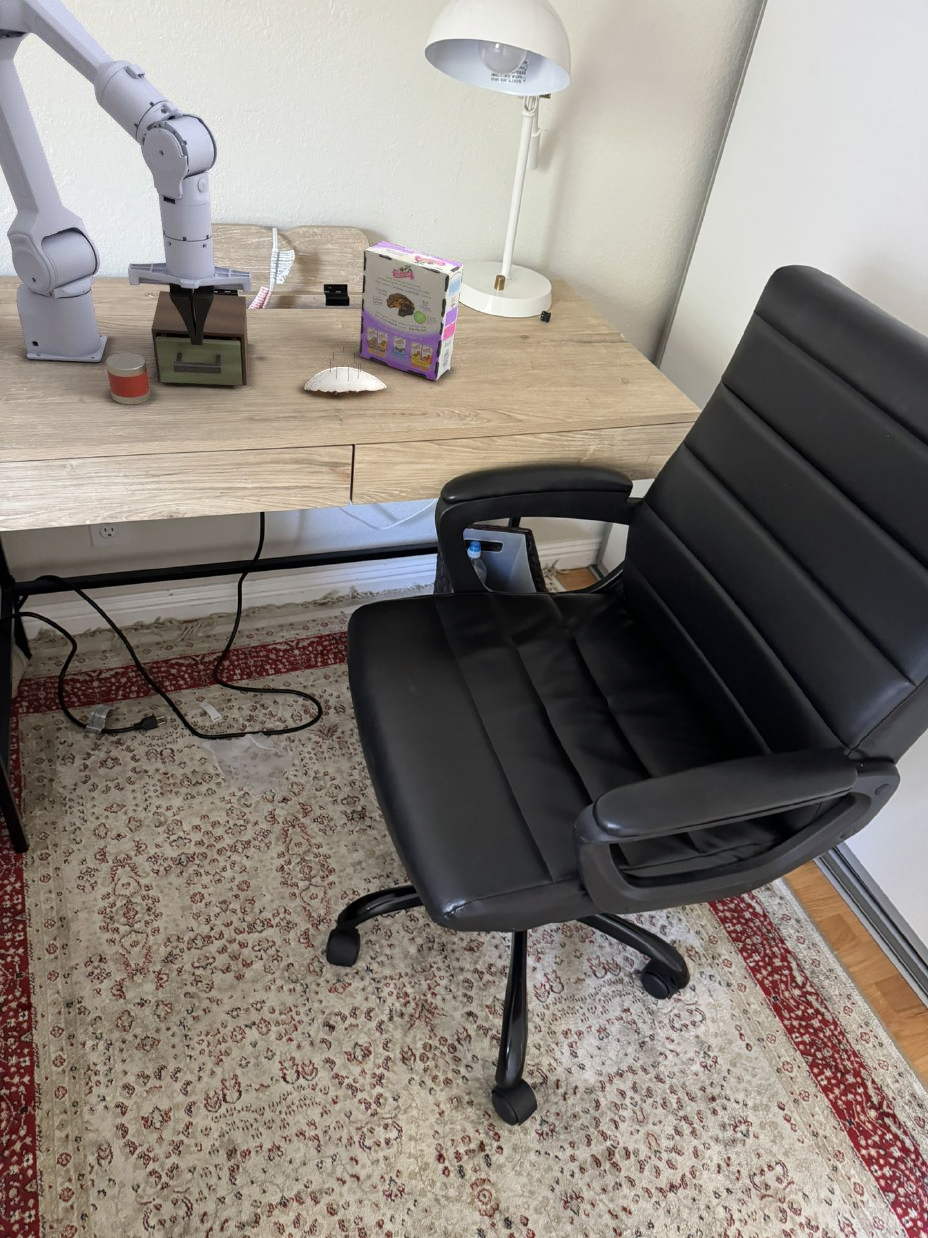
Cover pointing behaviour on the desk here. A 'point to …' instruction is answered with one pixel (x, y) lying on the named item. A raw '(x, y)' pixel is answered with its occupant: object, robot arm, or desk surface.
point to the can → (128, 378)
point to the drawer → (199, 359)
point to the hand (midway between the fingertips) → (197, 341)
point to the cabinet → (220, 321)
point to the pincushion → (344, 380)
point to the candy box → (409, 309)
